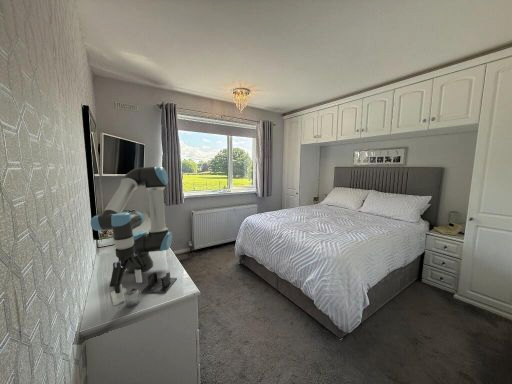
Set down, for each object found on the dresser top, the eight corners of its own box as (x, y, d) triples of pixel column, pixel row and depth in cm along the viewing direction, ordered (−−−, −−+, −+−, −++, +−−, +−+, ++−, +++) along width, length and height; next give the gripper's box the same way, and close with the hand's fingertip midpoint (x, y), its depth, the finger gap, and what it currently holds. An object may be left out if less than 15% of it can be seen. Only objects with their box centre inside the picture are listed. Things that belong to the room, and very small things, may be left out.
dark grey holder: (141, 292, 110) (140, 282, 109) (155, 279, 123) (153, 269, 122) (165, 292, 109) (164, 282, 108) (176, 279, 122) (175, 269, 121)
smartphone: (125, 286, 116) (130, 299, 105) (126, 287, 116) (130, 300, 105) (109, 292, 112) (112, 306, 100) (109, 293, 112) (112, 307, 100)
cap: (131, 299, 105) (129, 288, 104) (142, 299, 104) (141, 288, 103) (122, 308, 99) (120, 295, 98) (134, 308, 98) (133, 295, 97)
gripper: (134, 237, 110) (139, 276, 113) (94, 258, 86) (102, 307, 88) (148, 237, 110) (152, 276, 112) (112, 257, 85) (119, 307, 87)
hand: (130, 290), depth 100 cm, fingers open, 13 cm apart
